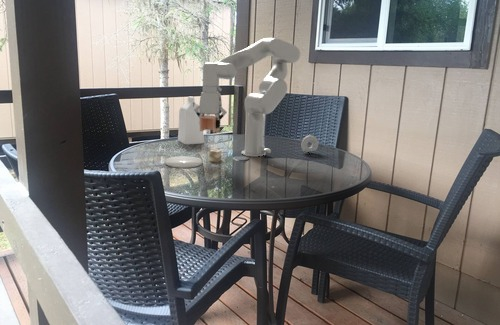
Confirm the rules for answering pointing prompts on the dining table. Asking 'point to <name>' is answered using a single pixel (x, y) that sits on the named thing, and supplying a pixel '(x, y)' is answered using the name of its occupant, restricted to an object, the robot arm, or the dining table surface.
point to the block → (215, 155)
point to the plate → (183, 162)
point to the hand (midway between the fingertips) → (209, 127)
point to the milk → (189, 124)
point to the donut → (305, 142)
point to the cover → (208, 123)
